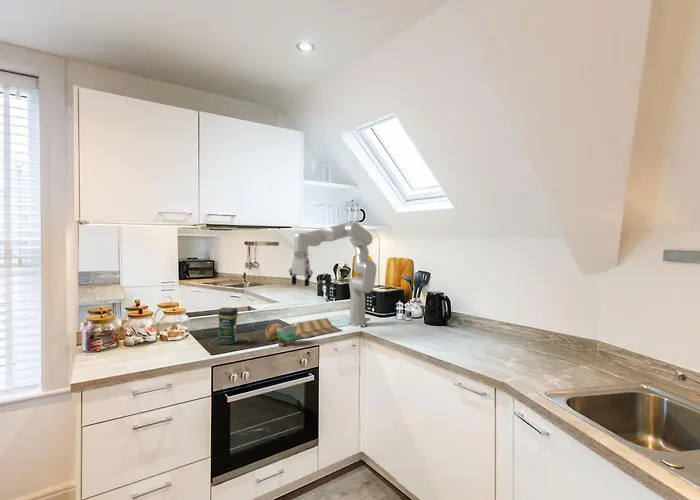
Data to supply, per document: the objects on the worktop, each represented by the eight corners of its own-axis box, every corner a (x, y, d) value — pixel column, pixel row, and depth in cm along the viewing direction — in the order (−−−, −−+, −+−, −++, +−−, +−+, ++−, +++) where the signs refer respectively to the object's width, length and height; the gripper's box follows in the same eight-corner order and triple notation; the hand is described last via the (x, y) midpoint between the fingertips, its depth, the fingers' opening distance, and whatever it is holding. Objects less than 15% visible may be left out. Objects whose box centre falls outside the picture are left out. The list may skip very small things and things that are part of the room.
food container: (284, 349, 179) (284, 329, 179) (276, 346, 183) (276, 327, 183) (302, 343, 189) (302, 324, 189) (293, 341, 193) (294, 323, 192)
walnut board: (333, 329, 219) (333, 327, 219) (341, 332, 213) (341, 329, 213) (297, 336, 202) (297, 334, 202) (305, 339, 196) (305, 337, 196)
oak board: (326, 319, 225) (326, 317, 224) (332, 328, 220) (333, 326, 219) (290, 325, 208) (291, 323, 207) (296, 335, 203) (297, 333, 202)
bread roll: (261, 341, 193) (261, 326, 193) (271, 334, 208) (271, 320, 207) (278, 342, 191) (278, 327, 191) (287, 334, 206) (287, 321, 206)
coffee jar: (215, 344, 186) (215, 308, 185) (222, 340, 193) (222, 305, 193) (233, 345, 184) (233, 309, 184) (239, 340, 192) (239, 306, 192)
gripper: (317, 255, 200) (316, 285, 200) (294, 254, 210) (293, 283, 210) (308, 255, 194) (307, 287, 194) (285, 254, 204) (284, 284, 204)
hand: (300, 285), depth 202 cm, fingers open, 9 cm apart
